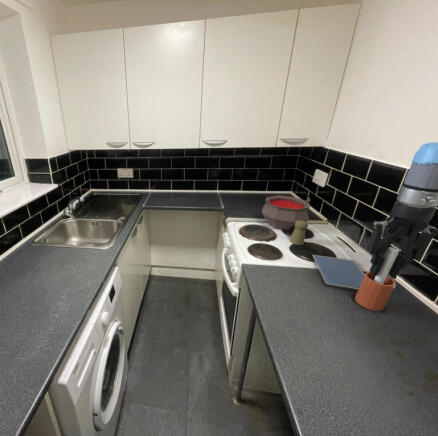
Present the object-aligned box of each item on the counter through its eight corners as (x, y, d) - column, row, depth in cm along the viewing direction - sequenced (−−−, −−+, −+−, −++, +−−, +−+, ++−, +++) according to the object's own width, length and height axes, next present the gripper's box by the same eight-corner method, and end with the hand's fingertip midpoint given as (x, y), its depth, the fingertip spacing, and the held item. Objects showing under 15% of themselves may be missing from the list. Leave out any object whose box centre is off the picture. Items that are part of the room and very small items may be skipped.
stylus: (371, 300, 76) (396, 247, 68) (375, 304, 74) (401, 251, 66) (363, 298, 77) (387, 246, 68) (366, 303, 75) (391, 250, 66)
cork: (304, 240, 113) (309, 220, 108) (304, 246, 108) (309, 225, 104) (289, 237, 116) (294, 217, 111) (289, 243, 111) (294, 222, 107)
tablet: (353, 262, 96) (354, 260, 95) (377, 294, 79) (378, 292, 78) (311, 256, 101) (312, 254, 100) (325, 285, 84) (326, 283, 83)
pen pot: (376, 298, 77) (388, 274, 73) (387, 313, 71) (401, 288, 67) (351, 293, 80) (361, 269, 76) (360, 308, 74) (371, 283, 70)
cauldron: (294, 216, 139) (300, 190, 132) (316, 235, 117) (325, 205, 111) (253, 215, 142) (257, 190, 135) (267, 234, 120) (273, 205, 113)
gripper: (382, 205, 61) (353, 276, 70) (471, 212, 55) (426, 288, 65) (369, 196, 67) (344, 262, 77) (448, 201, 62) (410, 272, 71)
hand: (382, 274), depth 71 cm, fingers open, 4 cm apart
